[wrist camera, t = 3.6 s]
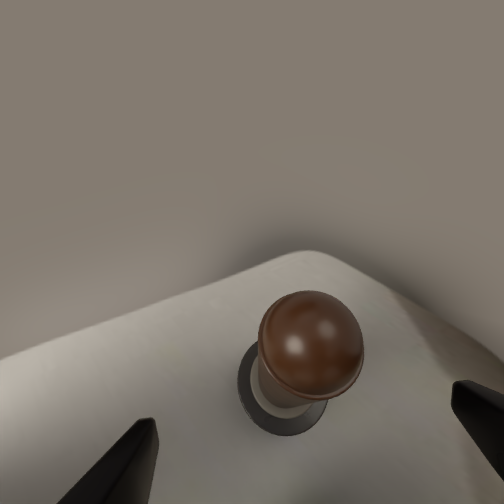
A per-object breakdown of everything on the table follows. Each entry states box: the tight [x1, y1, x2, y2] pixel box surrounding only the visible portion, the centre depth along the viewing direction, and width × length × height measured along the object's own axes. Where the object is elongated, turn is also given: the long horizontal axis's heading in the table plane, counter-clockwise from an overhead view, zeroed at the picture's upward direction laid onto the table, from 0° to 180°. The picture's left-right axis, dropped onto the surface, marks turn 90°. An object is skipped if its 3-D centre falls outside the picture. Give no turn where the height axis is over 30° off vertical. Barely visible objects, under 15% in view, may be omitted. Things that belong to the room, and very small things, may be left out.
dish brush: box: [238, 290, 364, 436], centre depth 10 cm, size 5×5×12 cm
